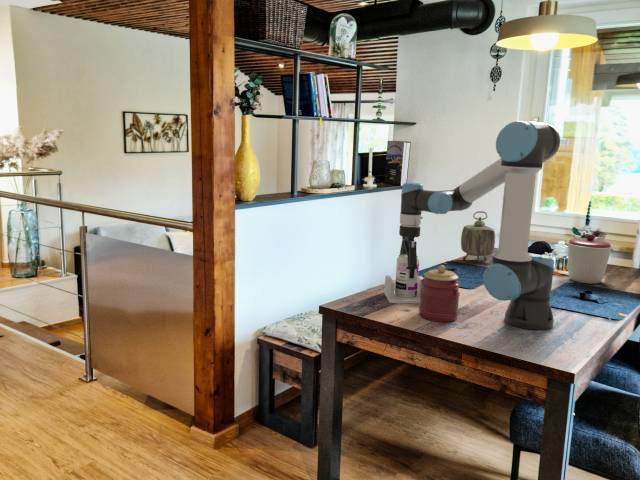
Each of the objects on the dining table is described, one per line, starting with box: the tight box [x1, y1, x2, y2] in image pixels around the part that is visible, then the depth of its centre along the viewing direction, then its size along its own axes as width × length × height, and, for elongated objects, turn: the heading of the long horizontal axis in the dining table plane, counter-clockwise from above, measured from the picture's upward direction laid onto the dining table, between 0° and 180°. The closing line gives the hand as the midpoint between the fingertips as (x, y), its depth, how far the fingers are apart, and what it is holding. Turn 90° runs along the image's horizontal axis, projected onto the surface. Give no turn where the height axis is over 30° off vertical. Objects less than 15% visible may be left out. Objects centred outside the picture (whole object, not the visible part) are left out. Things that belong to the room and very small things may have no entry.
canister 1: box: [418, 264, 461, 323], centre depth 186 cm, size 13×13×18 cm
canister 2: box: [566, 232, 614, 285], centre depth 240 cm, size 18×18×21 cm
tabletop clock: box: [460, 210, 496, 264], centre depth 272 cm, size 14×9×25 cm, turn 94°
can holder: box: [383, 274, 425, 305], centre depth 207 cm, size 14×14×7 cm
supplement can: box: [394, 254, 420, 298], centre depth 206 cm, size 8×8×15 cm
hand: (406, 281), depth 207 cm, fingers open, 13 cm apart
